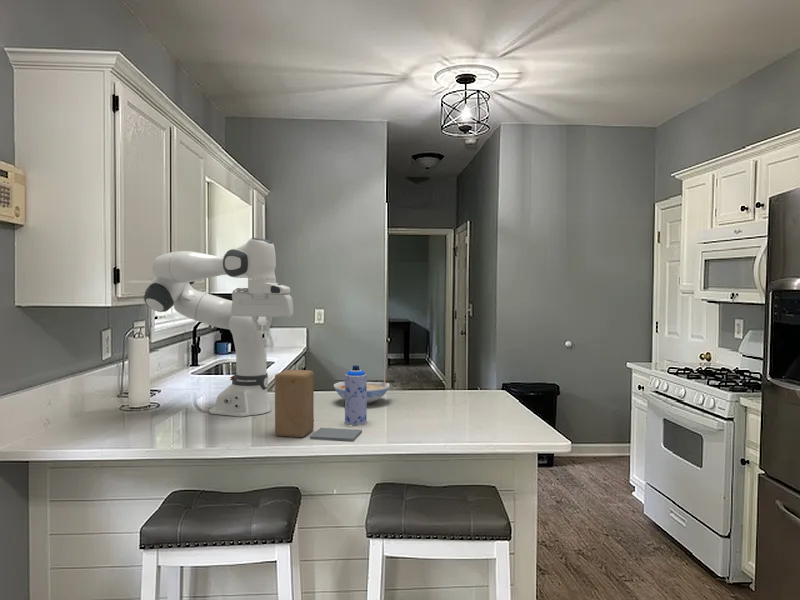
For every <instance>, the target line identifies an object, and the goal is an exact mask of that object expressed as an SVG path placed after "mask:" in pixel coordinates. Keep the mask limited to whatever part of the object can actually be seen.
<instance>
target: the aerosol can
mask: <svg viewBox="0 0 800 600" xmlns="http://www.w3.org/2000/svg"><path fill="white" fill-rule="evenodd" d="M367 377H368V376H367V373H366V372H365V371H364V370H362V369H360V366H359V365H352V369H350V370H348V371H347V373H345V376H344V380H345V399H344V425H347V426H349V425H352V427H360V426H359V425H361V426H365V425H367V424H368V421H367V415H368V414H367V413H368V412H367V411H368V410H367V409H368V408H367V405H368V404H367V380H368V378H367ZM366 423H367V424H366ZM364 424H365V425H364Z"/></svg>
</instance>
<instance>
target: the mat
mask: <svg viewBox="0 0 800 600" xmlns="http://www.w3.org/2000/svg"><path fill="white" fill-rule="evenodd" d="M362 432H363V430H362V429H355V428H335V427H333V428H331V427H319V428H318V429H317V430H316V431H315V432H313V433H312V434H311V435H310V436H309V439H310V440H319V441H320V440H322V441H340V442H355V440H356V439H357V438H358V437H359V436H360V435H361V434H362Z"/></svg>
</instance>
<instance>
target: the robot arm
mask: <svg viewBox="0 0 800 600" xmlns="http://www.w3.org/2000/svg"><path fill="white" fill-rule="evenodd" d="M276 258H277V257H276V248H275V245H274V242H273V241H271V240H270V239H267V238H266V239H265V238H260V237H251V238H249V240H248V241H247V242H246V243H244V244H242V245H240V246H238V247H236V248H232V249H229V250H227V251H226V253H225V254H224V256H218V255H214V254H213V255H212V254H208V253H203V252H199V251H198V252H197V251H189V250H178V251H172V252H171V251H170V252H168V253H163V254H160V255H158V256H157V257H156V258H155V259H154V260H153V262H152V265H151V266H152V269H151V270H152V273H153V275H154V277H153V279H152V280H151V282H150V284H149V286H147V287H146V290H145V291H144V294H145V295H144V294H143V301H144V303H145V304H146V305H147V307H148V308H150V309H151V310H153V311H155V312H159V313H163V312H164V313H165V312H167V311H169V310H170V309H171V308H172V307H173V309H174V310H175V311H176V312H177V313H179V314H180V315H182V316H184V317H186V318H188V319H189V320H190V319H191V320H193V321H196V322H199V323H202V324H205V325H208V326H212V327H214V328H218V329H219V328H220V329H224V330H229V331H230V333H231V335H232V339H233V344H234V349H235V358H236V359H235V360H236V362H235V364H236V365H235V368H236V369H235V371H236V374H234V375H231V376H230V377H229V381H231V384H230V385H229V386H227V388H225V389H224V390H222V391H221V392H220V393H219V394H218V395H217V397H216V400H215V406H213V407H211V408H210V409H209V410H208V411H209V412H208V413H209V414H213V415H224V416H231V417H248V416H255V415H261V414H266V413H269V412H271V411H272V409H271V408H272V407H271V405H270V404H271V403H270V401H269V392H268V386H269V376H268V372H267V351H266V349H265V346H264V341H263V335H264V334H265V333H266V332H268V331H270V327H271V325H272V322H273V318H290V317H292V316H293V315H294V304H293V303H294V302H293V297H292V296H291V295H290V293H291V288H290V286H287V285H284V284H281V283H277V278H276V274H275V273H276V272H275V271H276V267H277V260H276ZM225 275H227V276H229V277H232V278H235V279H236V278H237V279H247V287H242V288H241V287H237V288H235V289H234V290H232V292H231V299H232V300H230V299H227V298H223V297H221V296H218V295H213V294H210V293H207V292H204V291H200V290H197V289H195V288H193V287H192V285H193V284H195V282H197V281H200V280H205V279H210V278H214V277H220V276H225Z"/></svg>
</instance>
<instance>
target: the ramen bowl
mask: <svg viewBox="0 0 800 600" xmlns="http://www.w3.org/2000/svg"><path fill="white" fill-rule="evenodd" d="M334 382H336V383H334V384H333V387H334V390H335V391H336V393H337V394H338V396H339V397H340V398H342V399H343V400H345V379H344V380H334ZM395 382H396V380H395V379H377V380H375V379H373V380H372V379H367V405H369V404H372V402H375V401H377V400H378V401H379V399H381V398H383V397H384V396H385V394H386V393H387V392H388V390H389V388H390V383H395Z"/></svg>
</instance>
